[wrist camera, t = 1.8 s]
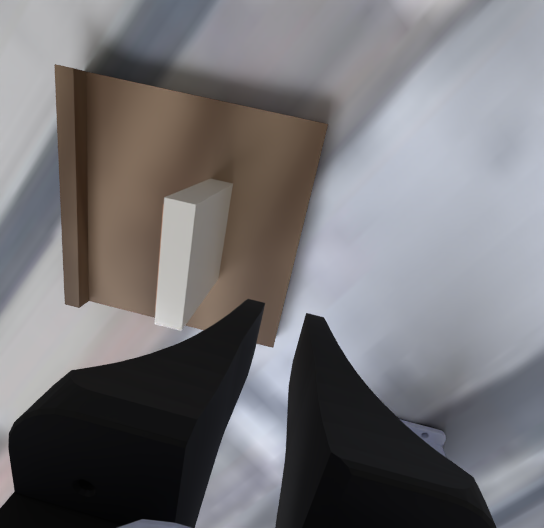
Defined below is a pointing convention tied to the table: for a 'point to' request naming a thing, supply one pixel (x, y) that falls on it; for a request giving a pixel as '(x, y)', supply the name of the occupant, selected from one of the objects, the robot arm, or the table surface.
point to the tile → (190, 249)
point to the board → (173, 178)
